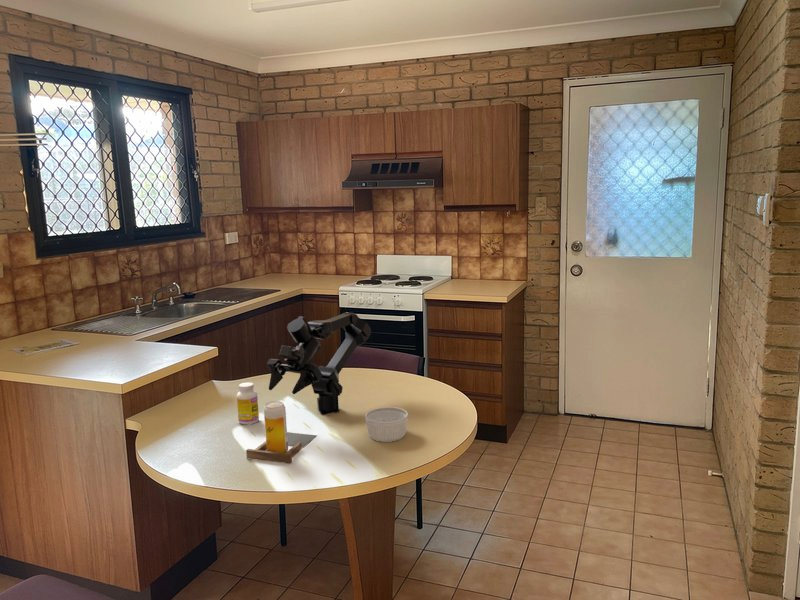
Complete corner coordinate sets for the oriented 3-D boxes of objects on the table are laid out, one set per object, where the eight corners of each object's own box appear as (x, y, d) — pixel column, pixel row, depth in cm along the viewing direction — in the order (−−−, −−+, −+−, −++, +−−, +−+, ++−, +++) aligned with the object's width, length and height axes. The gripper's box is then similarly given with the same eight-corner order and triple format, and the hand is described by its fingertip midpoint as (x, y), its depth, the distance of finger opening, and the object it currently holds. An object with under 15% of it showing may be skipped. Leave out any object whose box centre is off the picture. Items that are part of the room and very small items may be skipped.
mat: (285, 432, 200) (285, 431, 200) (316, 435, 197) (316, 435, 197) (270, 443, 192) (270, 443, 192) (303, 447, 189) (303, 446, 189)
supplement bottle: (254, 425, 207) (251, 388, 205) (235, 424, 208) (232, 387, 206) (262, 418, 214) (259, 381, 211) (244, 417, 215) (241, 381, 213)
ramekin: (376, 447, 187) (375, 425, 186) (358, 432, 198) (357, 411, 197) (416, 438, 193) (415, 416, 192) (396, 424, 204) (395, 403, 203)
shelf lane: (264, 444, 192) (264, 436, 191) (306, 449, 187) (305, 441, 187) (246, 458, 182) (246, 450, 182) (290, 463, 178) (289, 455, 177)
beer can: (268, 449, 188) (264, 401, 185) (289, 448, 188) (285, 400, 186) (266, 458, 182) (262, 408, 179) (287, 456, 182) (283, 407, 180)
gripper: (271, 333, 204) (245, 371, 195) (318, 338, 195) (294, 379, 185) (285, 355, 211) (262, 393, 202) (332, 361, 202) (309, 401, 193)
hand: (281, 391), depth 195 cm, fingers open, 9 cm apart
